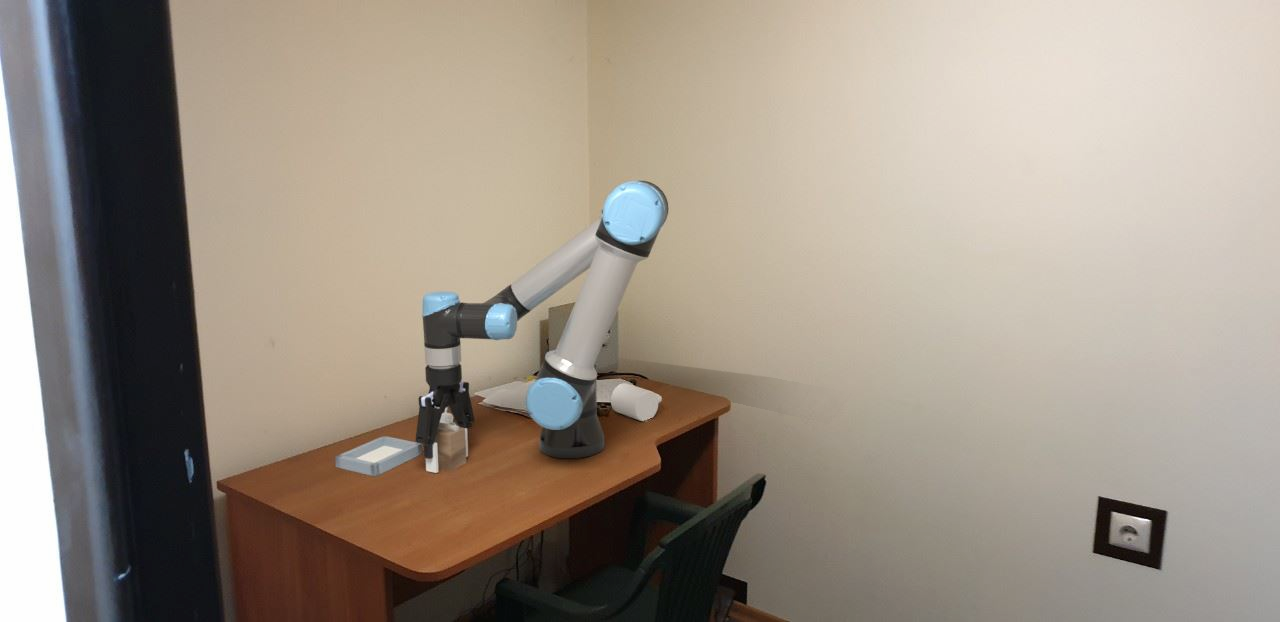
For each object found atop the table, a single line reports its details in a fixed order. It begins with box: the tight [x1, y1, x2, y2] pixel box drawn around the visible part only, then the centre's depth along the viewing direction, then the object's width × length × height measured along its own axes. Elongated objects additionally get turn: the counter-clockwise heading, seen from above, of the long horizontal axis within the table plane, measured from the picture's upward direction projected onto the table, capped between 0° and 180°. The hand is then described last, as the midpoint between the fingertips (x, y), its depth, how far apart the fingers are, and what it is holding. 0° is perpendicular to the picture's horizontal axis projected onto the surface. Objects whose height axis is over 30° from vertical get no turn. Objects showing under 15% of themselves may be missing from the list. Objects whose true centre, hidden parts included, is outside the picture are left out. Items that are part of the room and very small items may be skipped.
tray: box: [334, 435, 423, 477], centre depth 171 cm, size 11×14×2 cm
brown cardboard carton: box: [429, 423, 467, 471], centre depth 168 cm, size 6×5×9 cm
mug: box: [610, 382, 663, 422], centre depth 202 cm, size 12×10×8 cm
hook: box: [437, 406, 458, 426], centre depth 191 cm, size 8×12×7 cm
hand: (447, 463), depth 169 cm, fingers open, 9 cm apart
